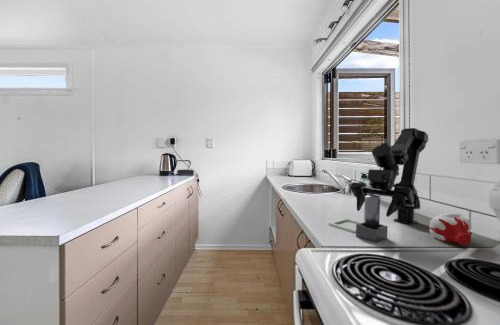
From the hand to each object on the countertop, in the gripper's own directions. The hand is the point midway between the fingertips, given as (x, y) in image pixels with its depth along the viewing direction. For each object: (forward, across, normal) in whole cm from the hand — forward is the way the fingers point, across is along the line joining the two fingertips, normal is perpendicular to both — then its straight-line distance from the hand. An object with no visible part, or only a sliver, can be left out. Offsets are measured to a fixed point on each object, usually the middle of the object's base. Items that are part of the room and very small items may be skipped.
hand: (371, 212), depth 78 cm
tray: (+2, -10, +11) cm, 15 cm away
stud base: (+6, 0, +6) cm, 9 cm away
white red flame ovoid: (-6, +17, +19) cm, 26 cm away
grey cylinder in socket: (+6, 0, +6) cm, 8 cm away
